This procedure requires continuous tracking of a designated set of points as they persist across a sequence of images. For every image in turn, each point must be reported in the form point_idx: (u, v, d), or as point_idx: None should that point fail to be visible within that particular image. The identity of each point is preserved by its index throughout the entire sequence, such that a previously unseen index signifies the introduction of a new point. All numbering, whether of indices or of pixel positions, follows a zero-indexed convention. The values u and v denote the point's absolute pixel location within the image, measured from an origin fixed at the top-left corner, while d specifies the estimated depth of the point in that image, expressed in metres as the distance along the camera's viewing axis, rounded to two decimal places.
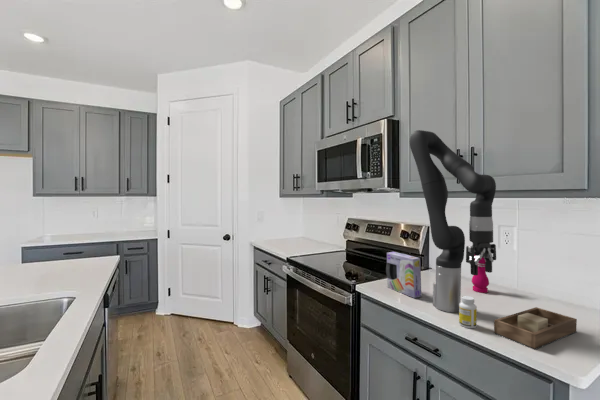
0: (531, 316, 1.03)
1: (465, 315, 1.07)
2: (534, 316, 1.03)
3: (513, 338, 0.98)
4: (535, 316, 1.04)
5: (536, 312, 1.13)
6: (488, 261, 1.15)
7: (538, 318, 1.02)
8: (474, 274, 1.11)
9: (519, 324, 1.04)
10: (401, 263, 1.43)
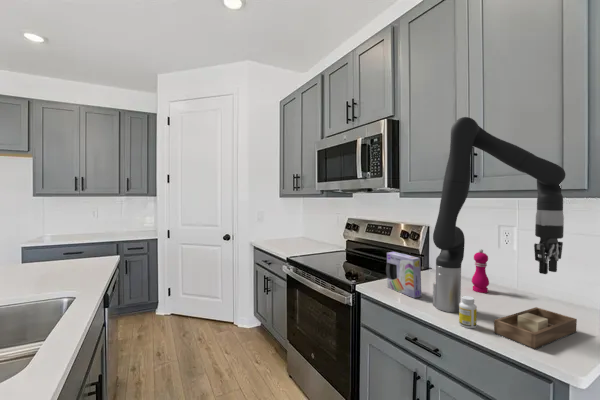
0: (531, 316, 1.03)
1: (465, 315, 1.07)
2: (534, 316, 1.03)
3: (513, 338, 0.98)
4: (535, 316, 1.04)
5: (536, 312, 1.13)
6: (552, 259, 1.08)
7: (538, 318, 1.02)
8: (543, 273, 1.05)
9: (519, 324, 1.04)
10: (401, 263, 1.43)
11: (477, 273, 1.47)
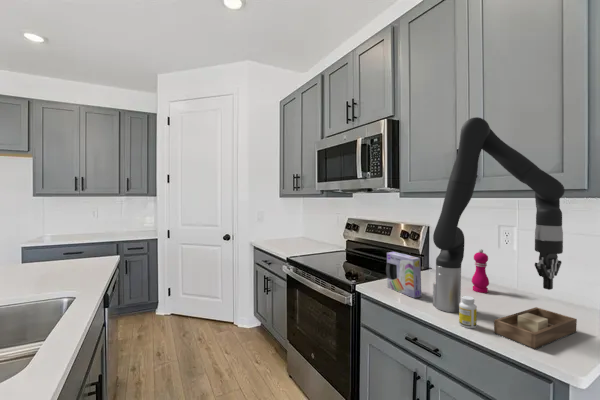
0: (531, 316, 1.03)
1: (465, 315, 1.07)
2: (534, 316, 1.03)
3: (513, 338, 0.98)
4: (535, 316, 1.04)
5: (536, 312, 1.13)
6: None
7: (538, 318, 1.02)
8: (547, 288, 1.06)
9: (519, 324, 1.04)
10: (401, 263, 1.43)
11: (477, 273, 1.47)
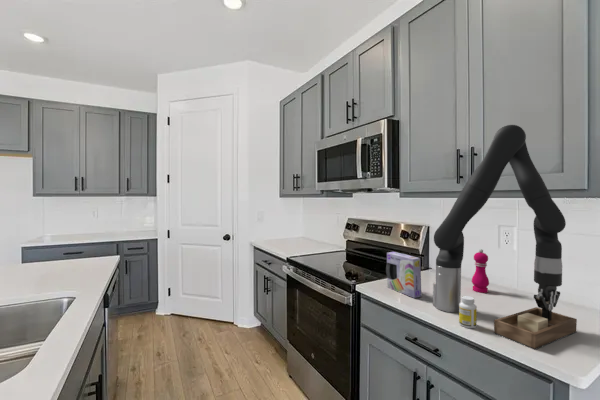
0: (531, 316, 1.03)
1: (465, 315, 1.07)
2: (534, 316, 1.03)
3: (513, 338, 0.98)
4: (535, 316, 1.04)
5: (536, 312, 1.13)
6: None
7: (538, 318, 1.02)
8: None
9: (519, 324, 1.04)
10: (401, 263, 1.43)
11: (477, 273, 1.47)
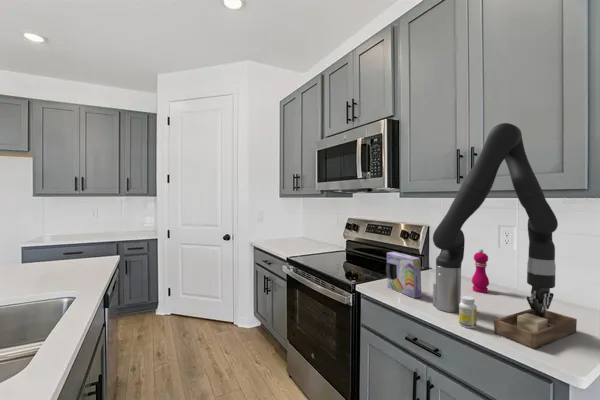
0: (530, 316, 1.03)
1: (465, 315, 1.07)
2: (534, 316, 1.03)
3: (513, 338, 0.98)
4: (534, 316, 1.03)
5: None
6: None
7: (537, 318, 1.02)
8: None
9: (519, 324, 1.03)
10: (401, 263, 1.43)
11: (477, 273, 1.47)
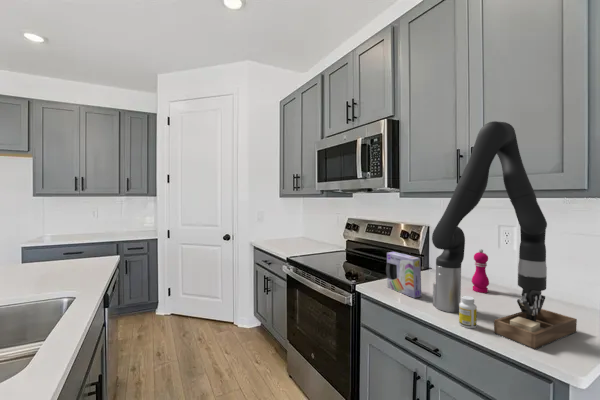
0: (523, 320, 1.00)
1: (465, 315, 1.07)
2: (526, 320, 1.00)
3: (513, 338, 0.98)
4: (526, 320, 1.00)
5: None
6: None
7: (530, 322, 0.99)
8: None
9: None
10: (401, 263, 1.43)
11: (477, 273, 1.47)
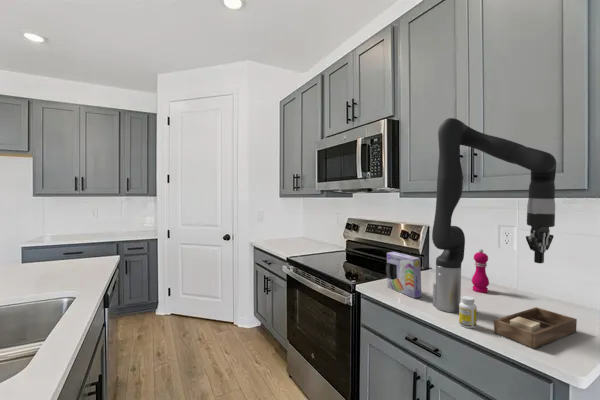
0: (523, 320, 1.00)
1: (465, 315, 1.07)
2: (526, 320, 1.00)
3: (513, 338, 0.98)
4: (526, 320, 1.00)
5: (536, 312, 1.13)
6: None
7: (530, 322, 0.99)
8: (538, 262, 1.05)
9: None
10: (401, 263, 1.43)
11: (477, 273, 1.47)
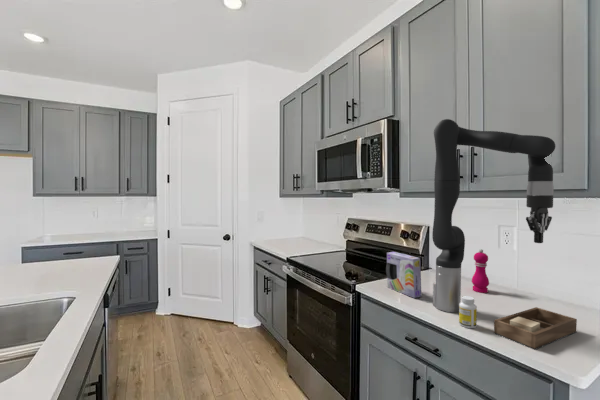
0: (523, 320, 1.00)
1: (465, 315, 1.07)
2: (526, 320, 1.00)
3: (513, 338, 0.98)
4: (526, 320, 1.00)
5: (536, 312, 1.13)
6: None
7: (530, 322, 0.99)
8: (538, 242, 1.10)
9: None
10: (401, 263, 1.43)
11: (477, 273, 1.47)
